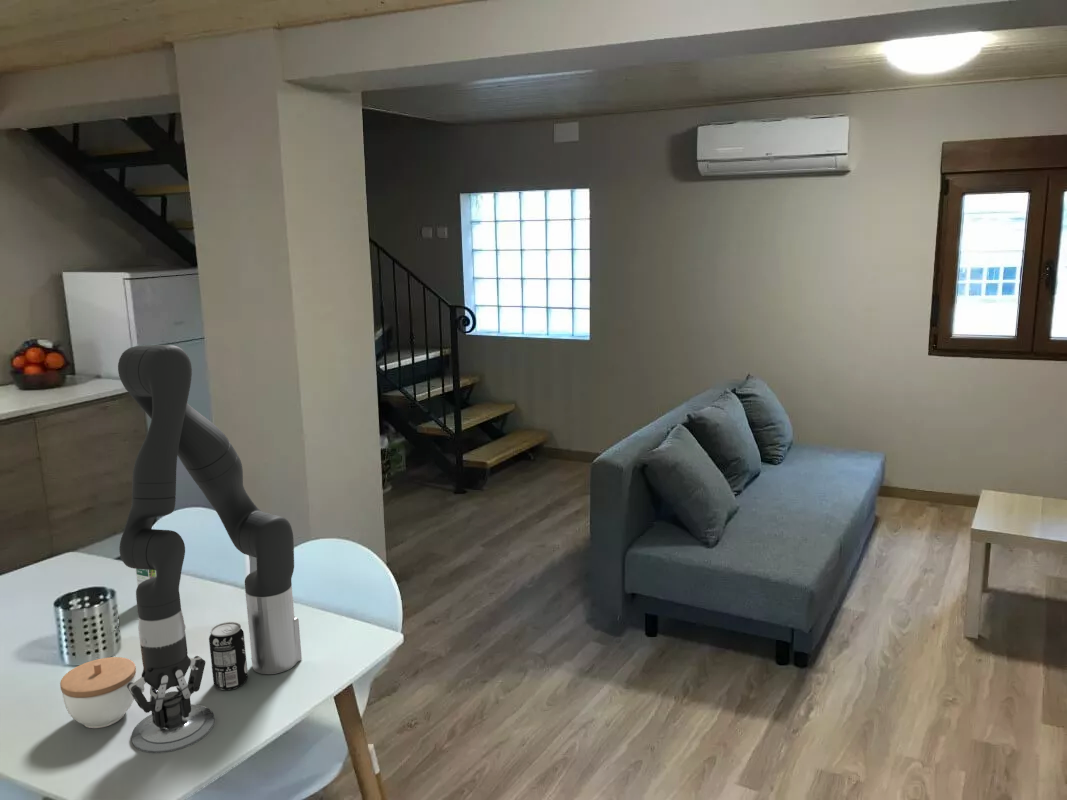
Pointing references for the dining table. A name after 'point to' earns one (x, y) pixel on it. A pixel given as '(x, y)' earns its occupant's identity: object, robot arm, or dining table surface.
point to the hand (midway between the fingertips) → (172, 720)
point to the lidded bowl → (99, 691)
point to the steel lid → (173, 727)
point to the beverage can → (228, 656)
